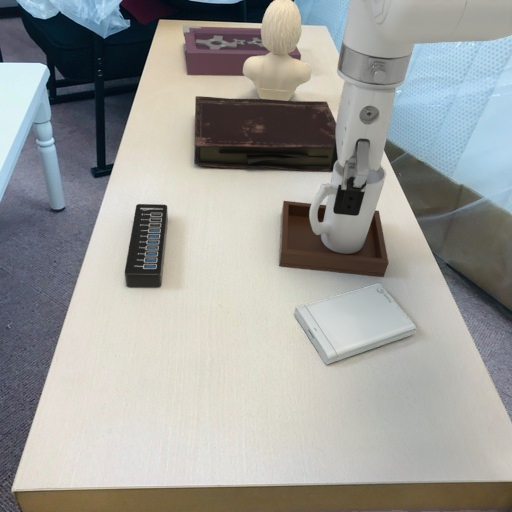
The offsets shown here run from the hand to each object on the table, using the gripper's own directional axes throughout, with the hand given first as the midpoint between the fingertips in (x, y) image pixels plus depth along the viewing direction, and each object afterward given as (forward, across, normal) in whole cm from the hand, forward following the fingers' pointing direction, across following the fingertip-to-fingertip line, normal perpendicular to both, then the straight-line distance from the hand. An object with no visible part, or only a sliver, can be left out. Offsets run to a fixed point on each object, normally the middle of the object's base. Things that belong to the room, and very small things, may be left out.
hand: (343, 191), depth 67 cm
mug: (+9, 0, 0) cm, 9 cm away
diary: (+9, +26, +11) cm, 30 cm away
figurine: (+9, +44, +10) cm, 46 cm away
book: (+9, +63, +19) cm, 67 cm away
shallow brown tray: (+10, 0, 0) cm, 10 cm away
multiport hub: (+10, -5, +25) cm, 28 cm away
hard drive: (+10, -15, -2) cm, 18 cm away
